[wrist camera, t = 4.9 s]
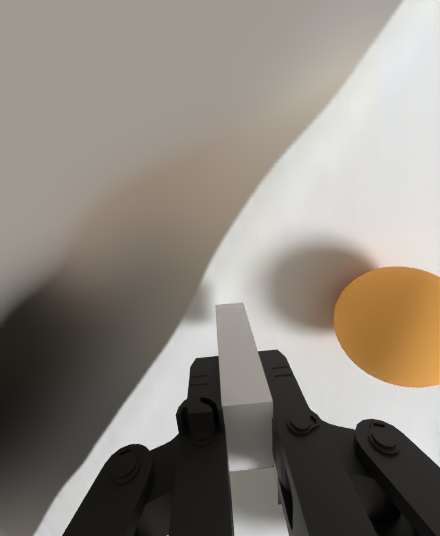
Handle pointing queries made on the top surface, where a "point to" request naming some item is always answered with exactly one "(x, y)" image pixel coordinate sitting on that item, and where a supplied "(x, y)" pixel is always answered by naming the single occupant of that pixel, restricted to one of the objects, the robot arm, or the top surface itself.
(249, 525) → the top surface
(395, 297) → the ball
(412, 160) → the top surface
